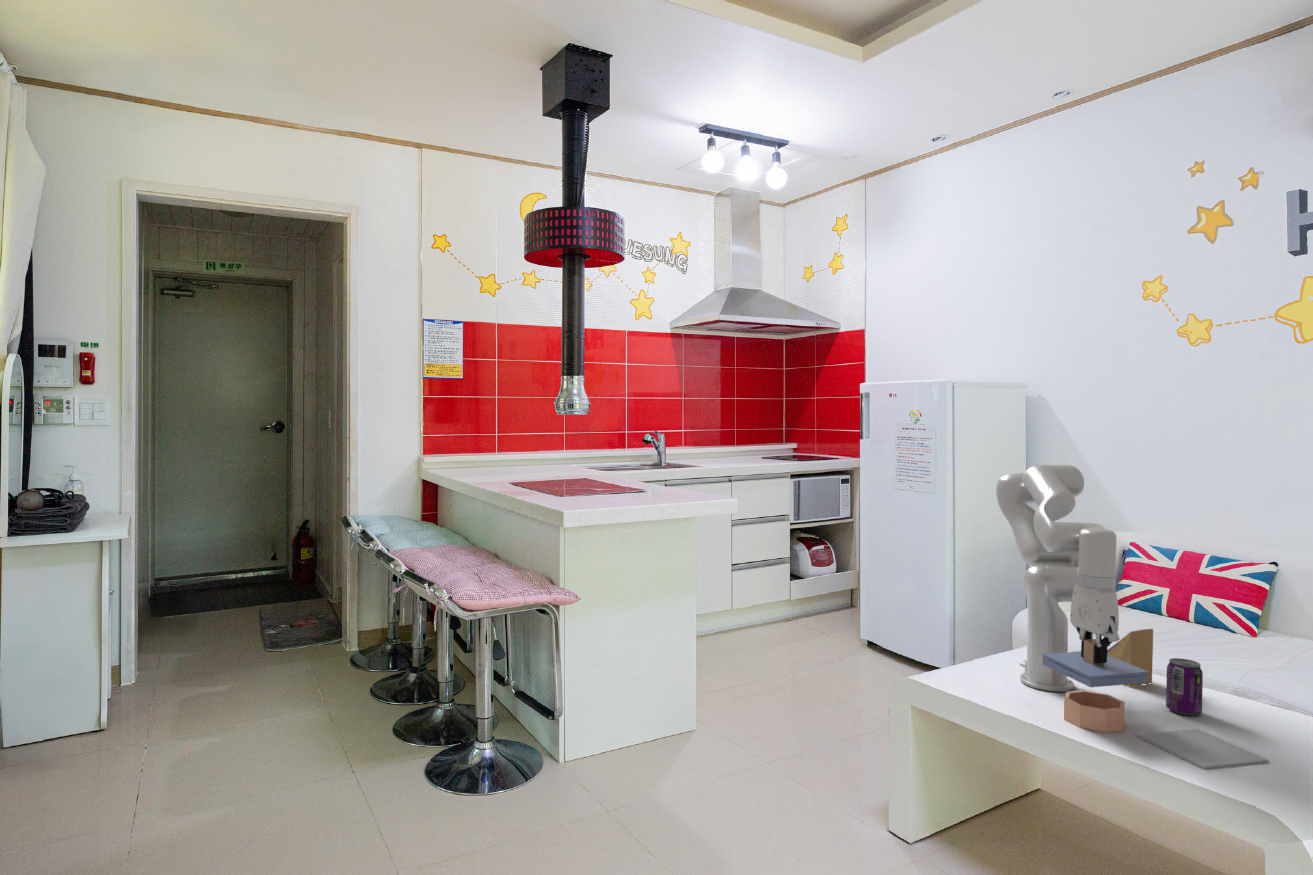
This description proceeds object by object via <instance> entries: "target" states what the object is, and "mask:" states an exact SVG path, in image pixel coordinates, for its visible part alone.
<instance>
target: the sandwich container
mask: <svg viewBox="0 0 1313 875" xmlns="http://www.w3.org/2000/svg"><path fill="white" fill-rule="evenodd" d="M1153 654H1154V629H1153V628H1146V629H1145V628H1144V629H1138V630H1132V631H1130V632H1129V633H1127V634H1126V635H1125V636H1123V637H1122V638H1121V639H1119V640H1118V641H1116V643H1115V644H1113V645H1112V646H1111V647H1109V648H1107V655H1109V656H1112V657H1114V658H1117V659H1119V660H1121V661H1124V662H1126V663H1129V664H1131V665H1133V666H1136V667H1138V668H1141V669H1143V670H1146V671H1148V683H1137V684H1125V686H1124V687H1127V686H1129V687H1128V688H1130V687H1132V688H1134V687H1133V686H1138V687H1141V686H1140V685H1142V684H1149V683H1152V684H1153V657H1154V655H1153ZM1149 685H1150V684H1149Z"/></svg>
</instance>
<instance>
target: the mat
mask: <svg viewBox="0 0 1313 875" xmlns="http://www.w3.org/2000/svg"><path fill="white" fill-rule="evenodd" d="M1136 737H1138V738H1140V739H1142V738H1143V739H1142V740H1144V741H1146V740H1147V741H1146V742H1148V743H1150V742H1151V743H1150V744H1152V745H1154V746H1156V745H1157V746H1156V747H1158V748H1160V749H1162V750H1164V749H1165V750H1164V751H1166V752H1168V751H1169V752H1168V753H1170V754H1172V753H1173V754H1172V755H1174V756H1176V755H1177V756H1176V757H1178V758H1180V759H1182V760H1183V761H1186V762H1188V763H1190V764H1191V765H1194V766H1197V767H1199V768H1200V769H1201V770H1202V769H1203V770H1207V769H1208V770H1209V769H1218V768H1229V767H1238V766H1248V765H1255V764H1266V763H1270V762H1269V759H1268V758H1265V757H1263V756H1261V755H1258V754H1256V753H1254V752H1252V751H1249V750H1247V749H1245V748H1243V747H1241V746H1239V745H1236V744H1234V743H1231V742H1230V741H1227V740H1224V739H1222V738H1220V737H1218V736H1215V735H1213V734H1210V733H1209V732H1207V731H1204V730H1203V729H1199V728H1190V729H1178V730H1167V731H1165V730H1164V731H1157V732H1146V733H1137V735H1136Z"/></svg>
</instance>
